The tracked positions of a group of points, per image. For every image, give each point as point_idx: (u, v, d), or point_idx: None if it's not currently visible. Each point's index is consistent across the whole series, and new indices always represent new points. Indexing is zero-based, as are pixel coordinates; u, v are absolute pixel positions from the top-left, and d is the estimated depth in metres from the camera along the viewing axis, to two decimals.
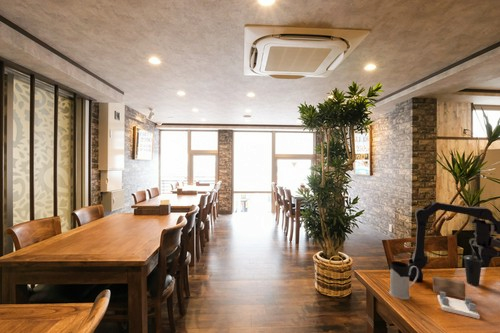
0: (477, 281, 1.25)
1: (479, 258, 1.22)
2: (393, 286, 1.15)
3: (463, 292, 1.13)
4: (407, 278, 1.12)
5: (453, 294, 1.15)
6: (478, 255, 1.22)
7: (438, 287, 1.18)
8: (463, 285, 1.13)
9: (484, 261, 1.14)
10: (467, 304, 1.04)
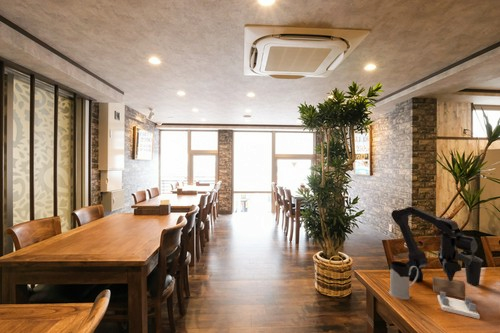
0: (477, 281, 1.25)
1: (445, 271, 1.21)
2: (393, 286, 1.15)
3: (463, 292, 1.13)
4: (407, 278, 1.12)
5: (453, 294, 1.15)
6: None
7: (438, 287, 1.18)
8: (463, 285, 1.13)
9: (448, 275, 1.13)
10: (467, 304, 1.04)
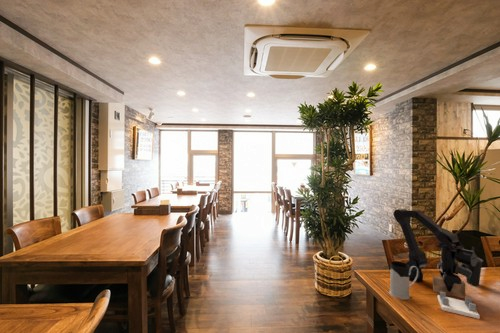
0: (477, 281, 1.25)
1: None
2: (393, 286, 1.15)
3: (463, 292, 1.13)
4: (407, 278, 1.12)
5: (453, 294, 1.15)
6: None
7: (439, 287, 1.18)
8: (463, 285, 1.13)
9: (447, 286, 1.15)
10: (467, 304, 1.04)
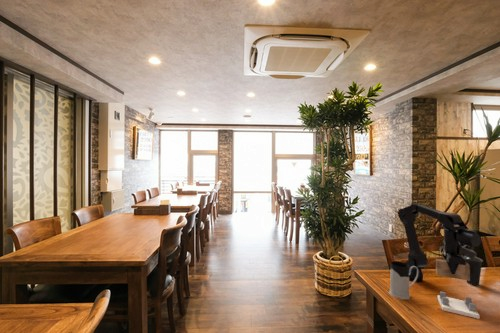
0: (477, 281, 1.25)
1: None
2: (393, 286, 1.15)
3: (468, 274, 1.09)
4: (407, 278, 1.12)
5: (457, 276, 1.10)
6: None
7: (442, 270, 1.13)
8: (468, 267, 1.09)
9: (451, 268, 1.11)
10: (467, 304, 1.04)
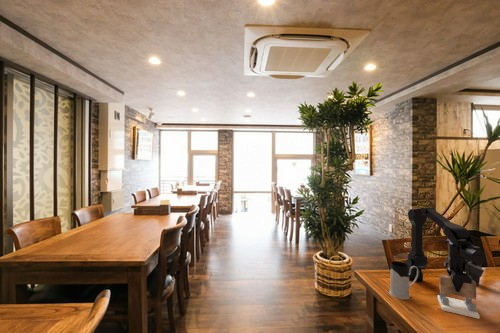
0: (477, 281, 1.25)
1: None
2: (393, 286, 1.15)
3: (474, 292, 1.01)
4: (407, 278, 1.12)
5: (462, 294, 1.03)
6: None
7: (446, 286, 1.06)
8: (474, 285, 1.01)
9: (455, 286, 1.03)
10: (467, 304, 1.04)
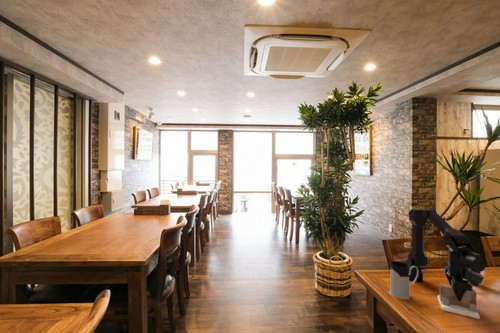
0: None
1: None
2: (393, 286, 1.15)
3: (474, 302, 1.01)
4: (407, 278, 1.12)
5: (462, 304, 1.03)
6: None
7: (446, 296, 1.06)
8: (474, 294, 1.01)
9: (457, 295, 1.01)
10: None
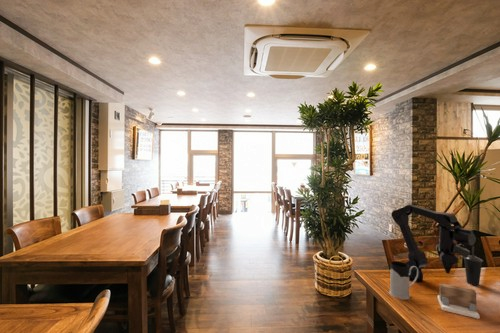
0: (477, 281, 1.25)
1: None
2: (393, 286, 1.15)
3: (474, 302, 1.01)
4: (407, 278, 1.12)
5: (462, 304, 1.03)
6: None
7: (446, 296, 1.06)
8: (474, 294, 1.01)
9: (445, 267, 1.13)
10: None
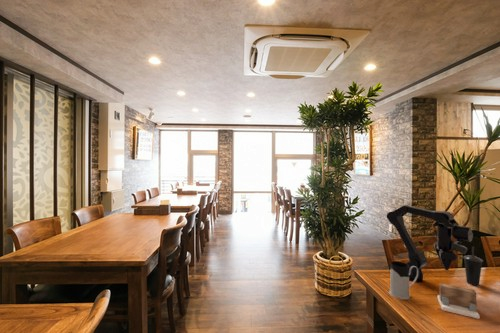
0: (477, 281, 1.25)
1: (442, 261, 1.24)
2: (393, 286, 1.15)
3: (474, 302, 1.01)
4: (407, 278, 1.12)
5: (462, 304, 1.03)
6: (441, 258, 1.24)
7: (446, 296, 1.06)
8: (474, 294, 1.01)
9: (444, 265, 1.16)
10: None
